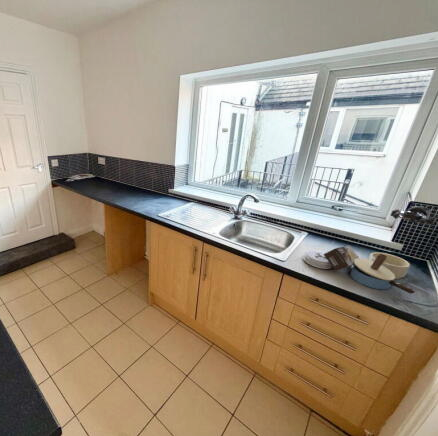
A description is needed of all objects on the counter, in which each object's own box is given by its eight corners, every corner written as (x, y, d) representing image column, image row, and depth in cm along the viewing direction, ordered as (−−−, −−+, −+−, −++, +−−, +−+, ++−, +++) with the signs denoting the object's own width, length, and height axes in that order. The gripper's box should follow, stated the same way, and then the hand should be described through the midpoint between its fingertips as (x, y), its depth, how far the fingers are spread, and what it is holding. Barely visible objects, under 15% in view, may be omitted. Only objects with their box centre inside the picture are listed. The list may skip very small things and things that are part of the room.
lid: (337, 272, 116) (340, 263, 114) (307, 268, 119) (310, 259, 117) (325, 258, 127) (328, 250, 125) (299, 255, 130) (301, 247, 128)
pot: (410, 275, 114) (416, 263, 111) (394, 281, 109) (399, 269, 107) (376, 261, 125) (380, 250, 123) (359, 266, 121) (364, 255, 118)
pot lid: (400, 278, 105) (412, 263, 101) (381, 284, 100) (393, 268, 96) (364, 258, 117) (374, 244, 113) (345, 262, 111) (355, 247, 108)
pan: (419, 295, 100) (424, 286, 98) (401, 303, 95) (405, 294, 93) (361, 269, 118) (364, 261, 117) (343, 275, 113) (346, 266, 112)
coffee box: (336, 250, 125) (322, 253, 116) (349, 244, 120) (335, 247, 112) (349, 267, 120) (335, 271, 112) (363, 261, 116) (349, 265, 107)
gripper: (401, 202, 124) (390, 207, 116) (443, 210, 113) (434, 216, 105) (396, 216, 127) (385, 222, 118) (436, 225, 115) (427, 232, 107)
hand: (408, 219), depth 112 cm, fingers open, 8 cm apart
